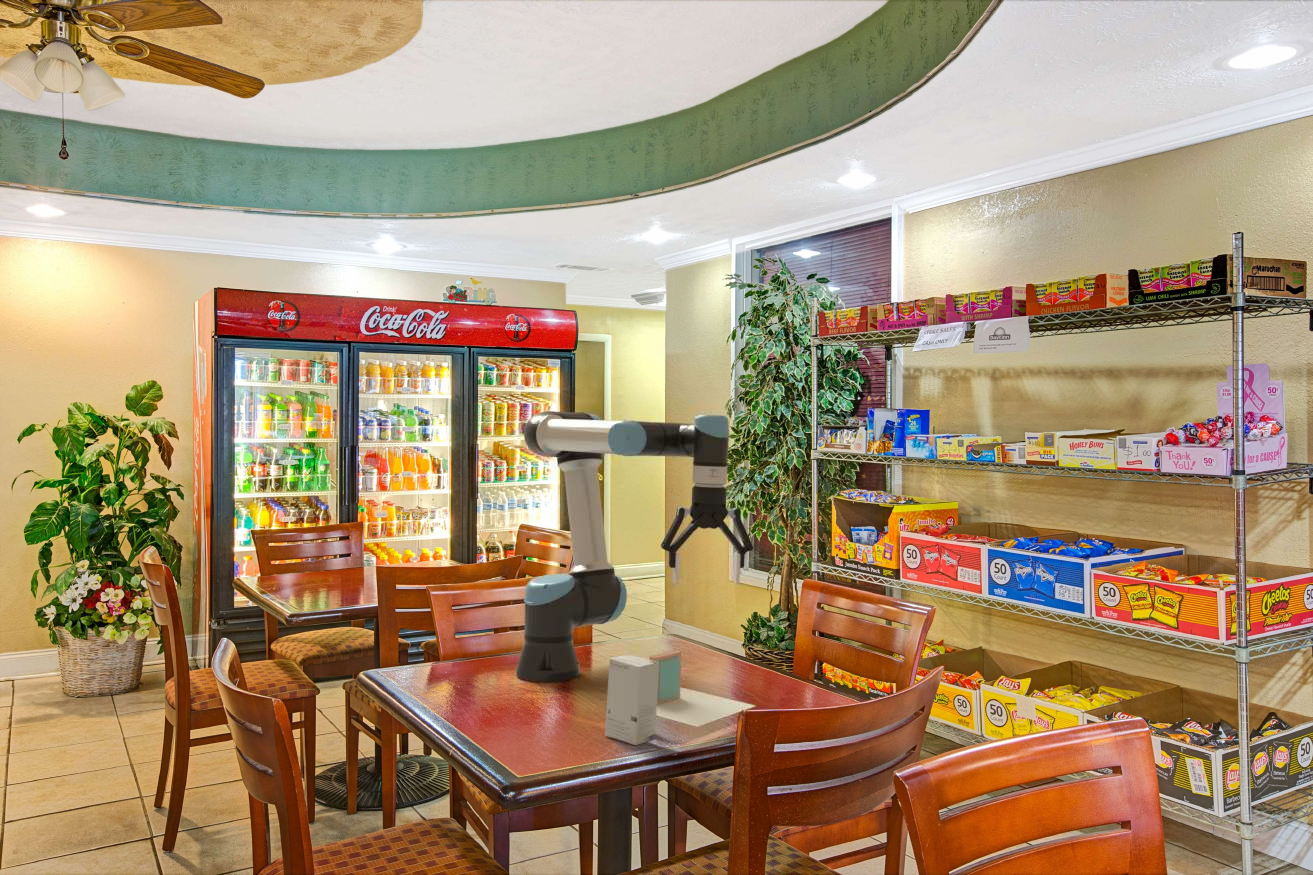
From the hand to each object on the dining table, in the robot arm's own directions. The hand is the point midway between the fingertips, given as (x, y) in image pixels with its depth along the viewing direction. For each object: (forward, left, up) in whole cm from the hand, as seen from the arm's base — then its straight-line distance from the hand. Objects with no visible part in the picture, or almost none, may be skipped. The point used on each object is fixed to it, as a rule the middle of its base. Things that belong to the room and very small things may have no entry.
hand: (705, 583), depth 194 cm
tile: (-4, -8, -25) cm, 26 cm away
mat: (0, -7, -26) cm, 27 cm away
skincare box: (+5, -29, -26) cm, 39 cm away
